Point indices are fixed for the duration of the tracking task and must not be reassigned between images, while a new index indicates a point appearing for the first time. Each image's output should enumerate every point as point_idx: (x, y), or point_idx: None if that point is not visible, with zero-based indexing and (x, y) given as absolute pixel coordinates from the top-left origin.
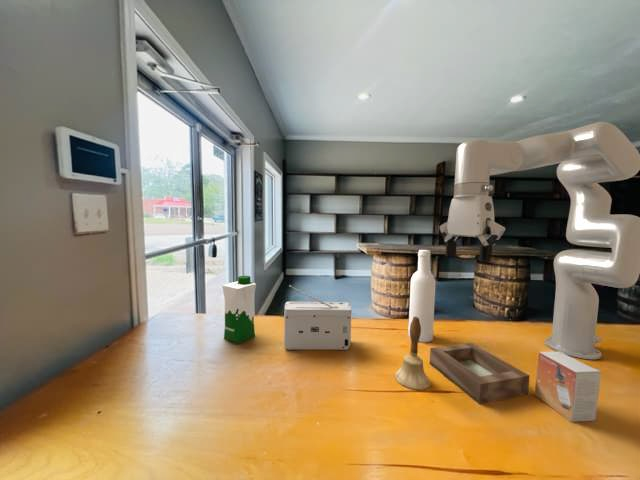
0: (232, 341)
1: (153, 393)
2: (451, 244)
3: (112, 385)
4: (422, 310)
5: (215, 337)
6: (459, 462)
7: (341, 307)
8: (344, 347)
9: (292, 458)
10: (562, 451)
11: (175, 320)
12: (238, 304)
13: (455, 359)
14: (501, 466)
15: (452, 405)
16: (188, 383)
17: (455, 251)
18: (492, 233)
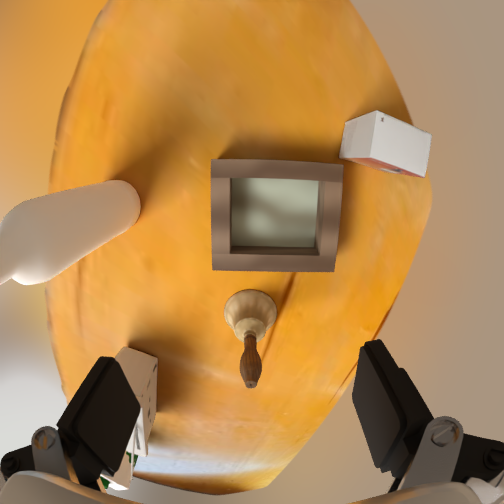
0: None
1: (218, 471)
2: (106, 451)
3: (205, 480)
4: (102, 238)
5: None
6: (367, 337)
7: None
8: (156, 364)
9: (309, 426)
10: (402, 235)
11: None
12: (130, 472)
13: (231, 216)
14: (385, 308)
15: (315, 296)
16: (210, 462)
17: (106, 385)
18: (466, 499)
